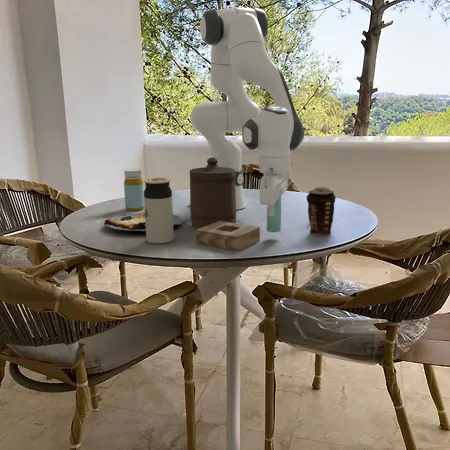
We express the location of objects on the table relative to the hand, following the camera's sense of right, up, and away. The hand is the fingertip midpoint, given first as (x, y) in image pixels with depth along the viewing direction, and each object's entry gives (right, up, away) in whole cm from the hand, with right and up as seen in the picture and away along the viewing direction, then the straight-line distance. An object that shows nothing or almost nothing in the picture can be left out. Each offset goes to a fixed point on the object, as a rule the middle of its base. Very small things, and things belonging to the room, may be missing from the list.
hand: (273, 213), depth 141 cm
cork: (+18, -2, +24) cm, 31 cm away
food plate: (-41, -4, +19) cm, 45 cm away
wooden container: (-18, -4, +19) cm, 26 cm away
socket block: (-13, -8, -1) cm, 16 cm away
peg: (0, -5, +1) cm, 5 cm away
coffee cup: (+15, -6, +7) cm, 17 cm away
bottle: (-48, +2, +43) cm, 65 cm away
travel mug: (-33, -8, +2) cm, 34 cm away
